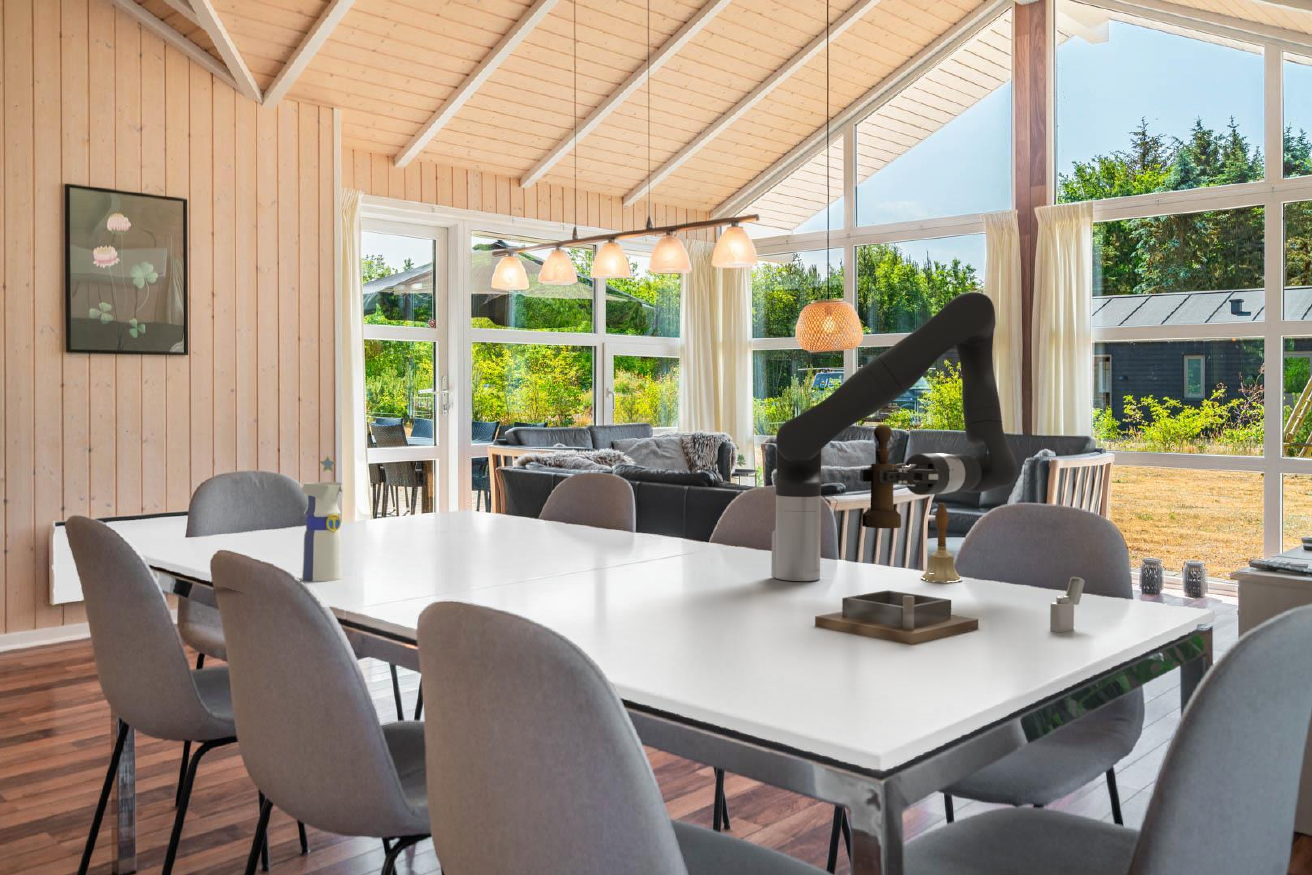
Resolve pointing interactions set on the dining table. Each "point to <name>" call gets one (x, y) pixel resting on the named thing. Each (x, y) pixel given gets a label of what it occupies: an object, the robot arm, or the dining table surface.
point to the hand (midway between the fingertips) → (871, 476)
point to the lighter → (1066, 607)
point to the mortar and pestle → (881, 487)
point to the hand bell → (941, 552)
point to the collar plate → (897, 617)
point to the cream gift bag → (322, 530)
